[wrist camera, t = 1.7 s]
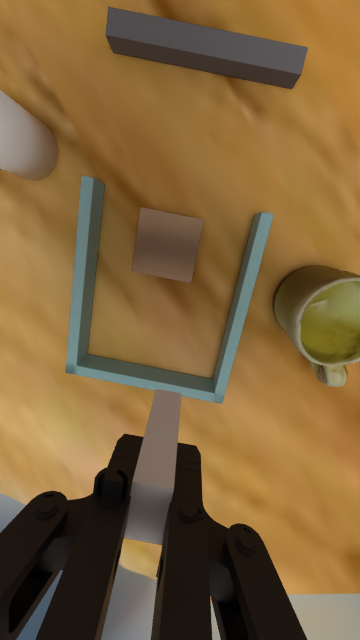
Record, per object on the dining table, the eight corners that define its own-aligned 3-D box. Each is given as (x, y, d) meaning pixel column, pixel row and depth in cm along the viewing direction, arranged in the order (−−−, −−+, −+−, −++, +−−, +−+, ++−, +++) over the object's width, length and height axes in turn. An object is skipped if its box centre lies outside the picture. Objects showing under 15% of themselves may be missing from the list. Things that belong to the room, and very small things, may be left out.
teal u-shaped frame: (94, 182, 30) (81, 175, 27) (265, 217, 30) (273, 214, 27) (77, 360, 36) (65, 372, 33) (219, 388, 36) (222, 403, 33)
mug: (267, 251, 29) (334, 284, 21) (343, 254, 32) (430, 284, 24) (244, 346, 35) (290, 402, 27) (310, 341, 38) (371, 391, 29)
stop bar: (115, 27, 26) (108, 6, 24) (298, 64, 26) (307, 47, 24) (113, 52, 27) (105, 34, 24) (291, 88, 27) (300, 74, 25)
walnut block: (150, 213, 31) (140, 206, 25) (202, 224, 31) (204, 219, 25) (142, 266, 33) (131, 271, 27) (191, 276, 33) (190, 283, 27)
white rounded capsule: (3, 112, 29) (-55, 72, 22) (59, 123, 29) (18, 87, 22) (3, 174, 30) (-51, 155, 24) (56, 185, 30) (16, 168, 24)
